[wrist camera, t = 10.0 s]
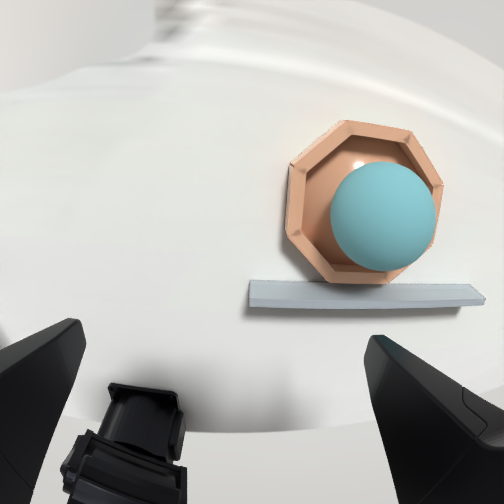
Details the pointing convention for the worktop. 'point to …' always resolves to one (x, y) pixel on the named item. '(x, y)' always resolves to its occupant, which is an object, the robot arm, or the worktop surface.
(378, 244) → the ball
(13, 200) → the worktop surface
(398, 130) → the saucer
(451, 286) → the low wall
